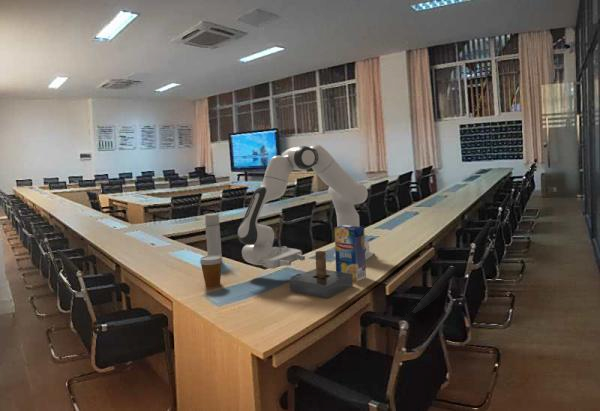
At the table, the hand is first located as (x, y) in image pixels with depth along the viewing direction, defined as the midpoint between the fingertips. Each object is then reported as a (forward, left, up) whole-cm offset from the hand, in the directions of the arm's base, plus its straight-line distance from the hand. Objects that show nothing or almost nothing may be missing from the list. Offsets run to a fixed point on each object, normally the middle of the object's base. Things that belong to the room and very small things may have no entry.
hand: (297, 260), depth 186 cm
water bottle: (-9, -63, -10) cm, 64 cm away
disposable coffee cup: (+19, -32, -10) cm, 39 cm away
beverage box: (-19, +14, -10) cm, 26 cm away
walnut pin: (0, +12, -9) cm, 15 cm away
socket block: (0, +12, -10) cm, 16 cm away
